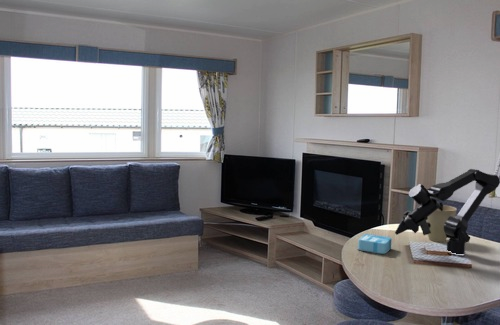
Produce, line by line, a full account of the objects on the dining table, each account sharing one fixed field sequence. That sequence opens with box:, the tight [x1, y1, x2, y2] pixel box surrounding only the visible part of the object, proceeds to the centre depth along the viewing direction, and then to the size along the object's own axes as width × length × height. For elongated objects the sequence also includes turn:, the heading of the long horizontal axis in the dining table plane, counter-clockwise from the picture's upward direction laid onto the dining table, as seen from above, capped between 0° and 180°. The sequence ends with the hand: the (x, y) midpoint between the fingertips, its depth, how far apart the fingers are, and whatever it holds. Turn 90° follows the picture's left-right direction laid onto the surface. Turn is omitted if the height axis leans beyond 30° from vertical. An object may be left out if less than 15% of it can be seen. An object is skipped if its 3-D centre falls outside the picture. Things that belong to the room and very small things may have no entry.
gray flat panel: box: [357, 248, 382, 255], centre depth 206 cm, size 10×11×1 cm
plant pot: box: [426, 204, 458, 243], centre depth 223 cm, size 15×15×16 cm
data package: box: [357, 233, 392, 255], centre depth 205 cm, size 12×4×12 cm
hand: (395, 233), depth 201 cm, fingers closed
